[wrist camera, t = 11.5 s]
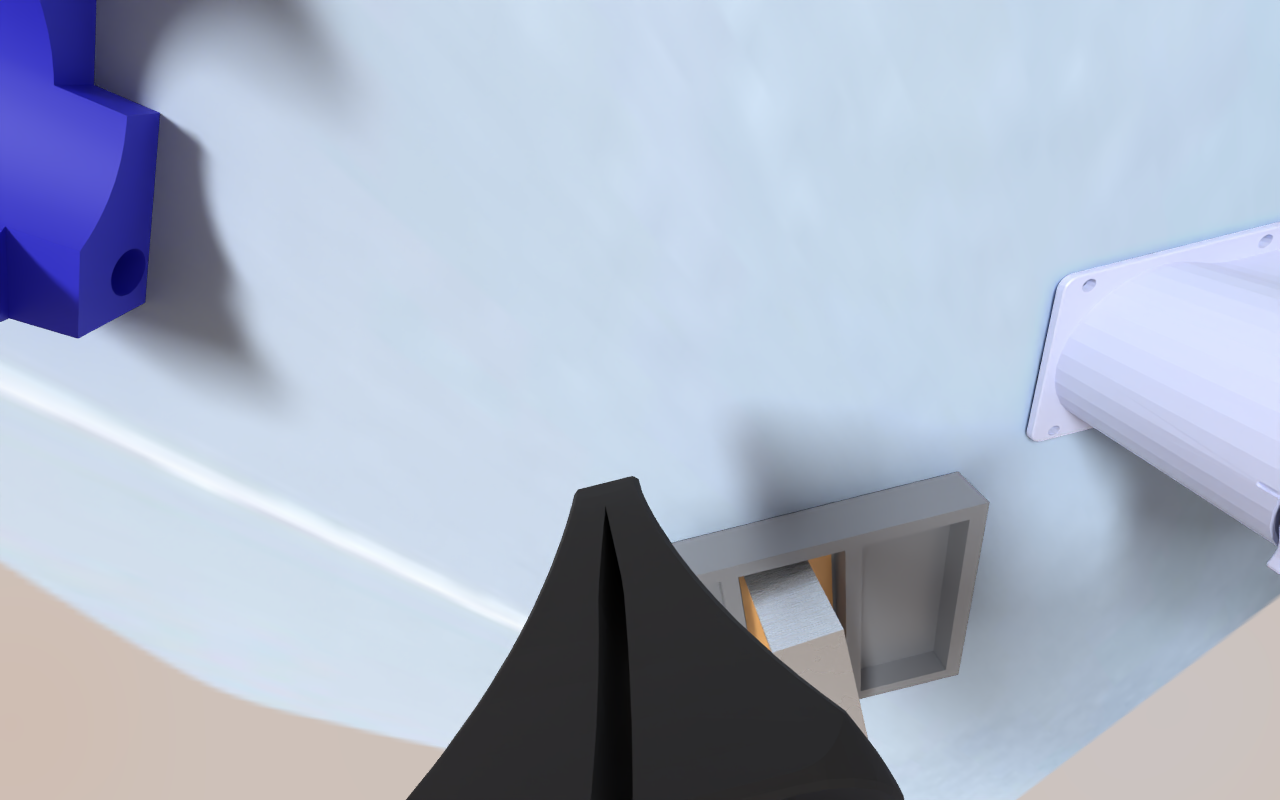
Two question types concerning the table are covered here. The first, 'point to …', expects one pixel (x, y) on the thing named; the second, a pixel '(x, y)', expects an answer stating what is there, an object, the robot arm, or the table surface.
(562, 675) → the robot arm
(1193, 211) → the table surface
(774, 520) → the bay rack
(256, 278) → the table surface
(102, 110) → the blue arch block
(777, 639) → the light grey rectangular block
